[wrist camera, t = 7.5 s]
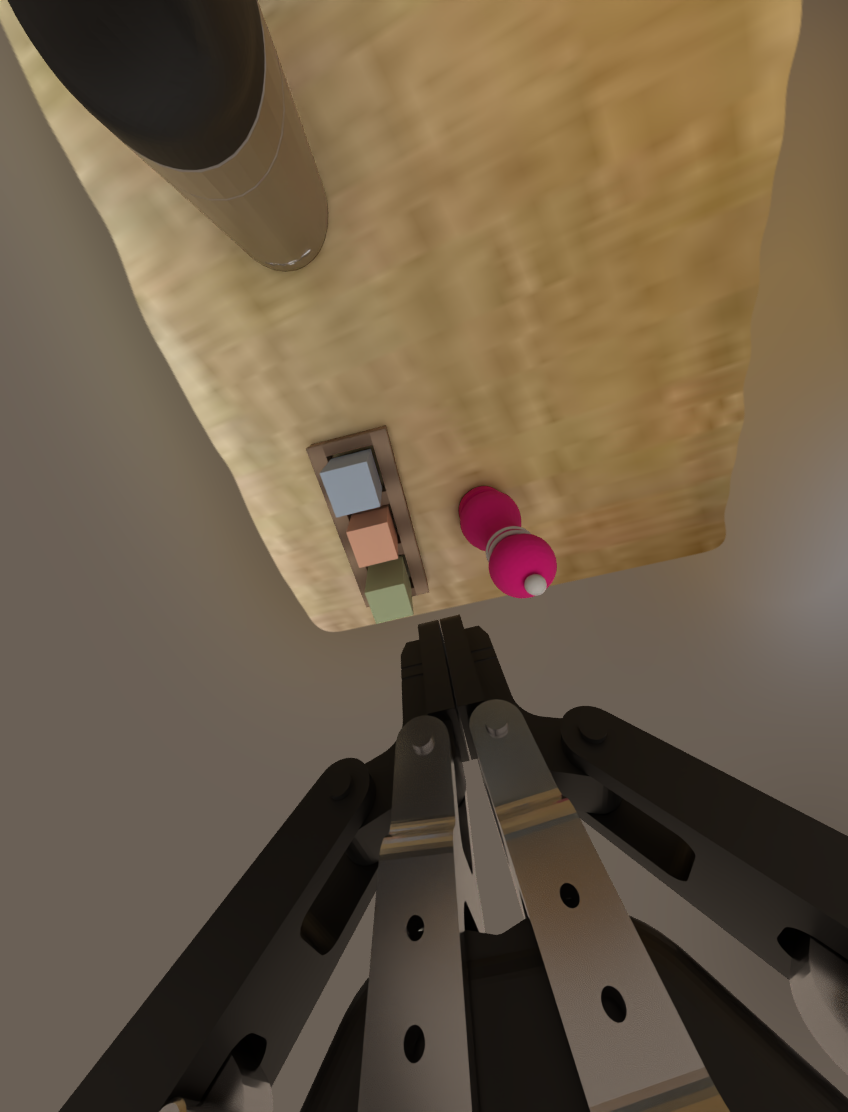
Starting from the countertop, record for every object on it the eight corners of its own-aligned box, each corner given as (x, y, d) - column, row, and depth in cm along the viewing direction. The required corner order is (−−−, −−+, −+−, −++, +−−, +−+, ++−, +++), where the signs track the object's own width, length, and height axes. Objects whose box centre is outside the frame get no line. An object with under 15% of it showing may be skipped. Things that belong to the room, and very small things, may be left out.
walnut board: (311, 444, 40) (305, 449, 37) (385, 425, 39) (385, 428, 37) (367, 595, 50) (366, 607, 47) (427, 581, 49) (429, 592, 47)
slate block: (331, 458, 38) (319, 473, 32) (370, 448, 38) (366, 461, 32) (344, 496, 40) (336, 517, 34) (382, 487, 40) (380, 506, 34)
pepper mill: (517, 513, 46) (597, 595, 28) (473, 543, 47) (522, 639, 30) (490, 470, 43) (560, 533, 25) (444, 504, 44) (478, 585, 27)
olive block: (368, 563, 45) (364, 592, 38) (402, 555, 44) (403, 583, 38) (378, 591, 47) (376, 623, 40) (410, 584, 47) (413, 615, 40)
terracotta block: (352, 510, 43) (346, 532, 37) (387, 501, 43) (387, 522, 36) (363, 542, 45) (359, 568, 39) (397, 534, 45) (398, 558, 39)
